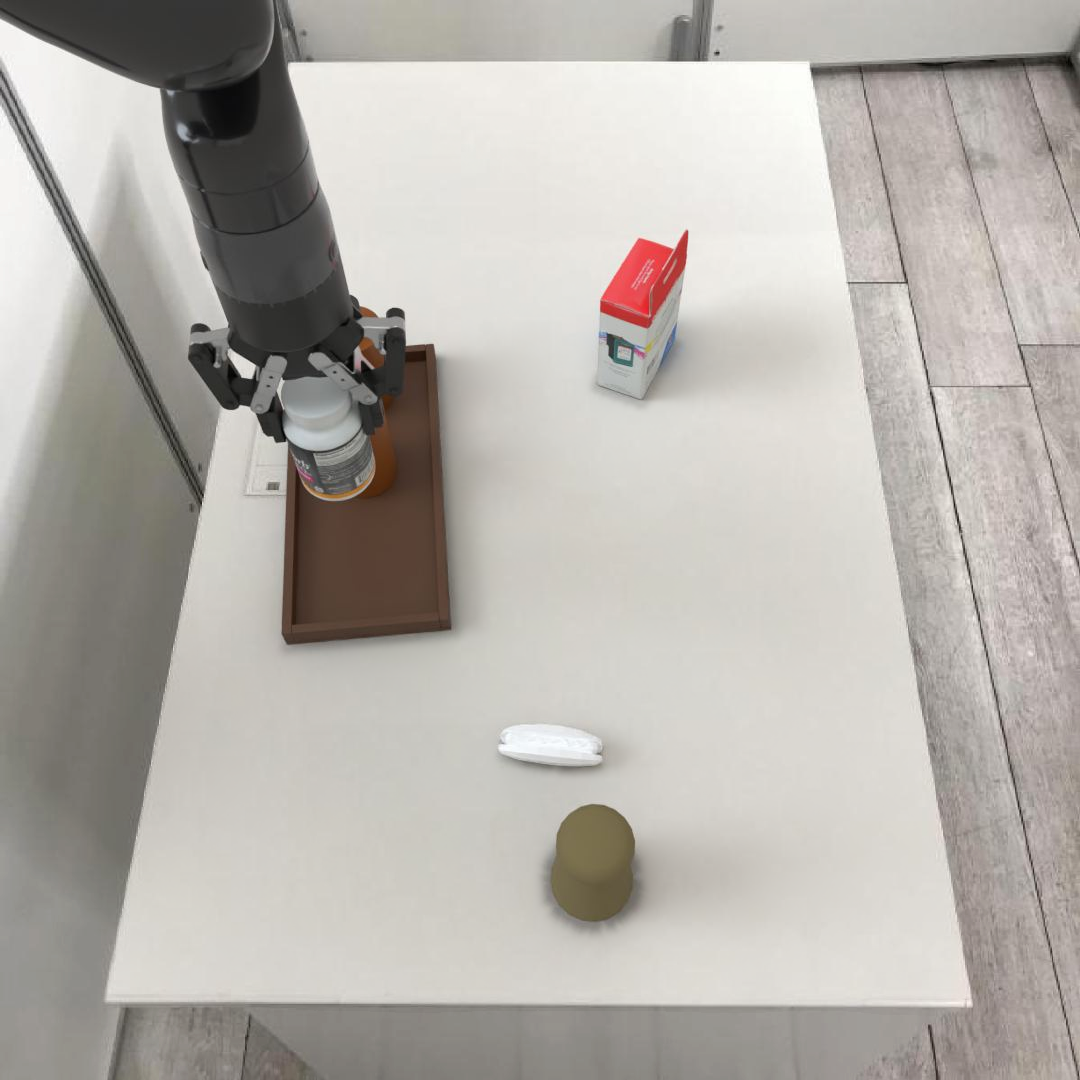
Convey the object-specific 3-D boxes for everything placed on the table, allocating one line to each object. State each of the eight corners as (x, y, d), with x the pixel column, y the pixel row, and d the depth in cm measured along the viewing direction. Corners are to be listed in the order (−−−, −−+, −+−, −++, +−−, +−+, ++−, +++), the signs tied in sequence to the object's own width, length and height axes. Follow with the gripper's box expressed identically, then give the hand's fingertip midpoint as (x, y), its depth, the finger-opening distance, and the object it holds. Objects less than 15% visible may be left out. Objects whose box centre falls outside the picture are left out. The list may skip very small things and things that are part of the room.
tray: (286, 644, 88) (281, 634, 86) (295, 368, 103) (291, 354, 101) (451, 629, 88) (449, 619, 87) (435, 357, 104) (433, 343, 102)
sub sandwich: (600, 775, 82) (601, 763, 79) (497, 764, 82) (495, 751, 80) (604, 737, 83) (605, 724, 81) (502, 726, 84) (501, 713, 82)
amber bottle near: (335, 500, 94) (307, 417, 84) (335, 449, 97) (309, 363, 87) (398, 495, 95) (378, 412, 84) (396, 444, 98) (377, 358, 87)
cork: (628, 834, 79) (637, 788, 70) (637, 918, 76) (648, 882, 67) (547, 840, 79) (546, 794, 70) (553, 924, 76) (552, 888, 67)
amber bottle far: (335, 420, 99) (309, 332, 89) (335, 373, 102) (310, 283, 92) (395, 415, 99) (377, 326, 89) (394, 368, 102) (376, 278, 92)
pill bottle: (290, 460, 81) (259, 375, 72) (360, 431, 82) (338, 345, 74) (317, 516, 78) (289, 435, 70) (389, 486, 80) (369, 403, 71)
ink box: (630, 324, 105) (640, 208, 93) (676, 341, 104) (693, 225, 92) (594, 385, 101) (599, 273, 89) (641, 403, 100) (654, 292, 88)
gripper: (396, 197, 63) (425, 380, 78) (152, 215, 63) (227, 396, 77) (399, 290, 60) (429, 464, 74) (139, 310, 59) (221, 481, 73)
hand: (326, 428), depth 76 cm, fingers closed on pill bottle, 5 cm apart
